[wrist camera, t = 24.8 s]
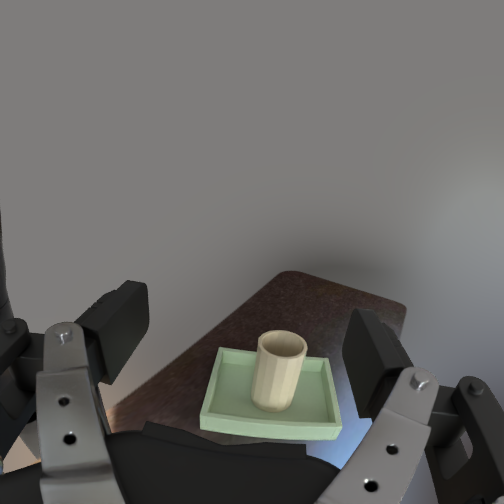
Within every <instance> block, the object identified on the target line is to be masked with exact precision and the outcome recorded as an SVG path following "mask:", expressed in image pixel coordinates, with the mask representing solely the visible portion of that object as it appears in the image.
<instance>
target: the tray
mask: <svg viewBox="0 0 504 504" xmlns="http://www.w3.org/2000/svg"><path fill="white" fill-rule="evenodd" d="M256 353H257V352H252V351H244V350H236V349H229V348H222V347H219V349H218V353H217V356H216V360H215V363H214V367H213V370H212V374H211V377H210V381H209V384H208V388H207V391H206V395H205V399H204V402H203V406H202V409H201V413H200V429H203V430H209V431H215V432H221V433H228V434H235V435H243V436H252V437H262V438H274V439H291V440H336V438H337V436H338V434H339V432H340V431H341V429H342V422H341V417H340V412H339V407H338V402H337V397H336V392H335V388H334V383H333V378H332V374H331V369H330V365H329V360H328V358H317V357H305V360H304V364H303V368H302V371H301V375H300V379H299V382H298V386H297V389H296V393H295V396H294V399H293V402H292V404H291V406H290V407H289V408H288V409H286V410H284V411H281V412H276V413H271V412H266V411H263V410H261V409H259V408H257V407H256V406H255V405H254V404H253V403H252V401H251V397H250V395H251V387H252V381H253V374H254V367H255V360H256Z"/></svg>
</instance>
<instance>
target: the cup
mask: <svg viewBox="0 0 504 504" xmlns="http://www.w3.org/2000/svg"><path fill="white" fill-rule="evenodd" d="M306 353H307V343H306V342H305V341H304V339H303V338H302V337H300V336H298V335H297V334H295V333H292V332H289V331H283V330H274V331H268V332H266V333H264V334H262V335H261V336H260V338H259V339H258V346H257V353H256V360H255V367H254V374H253V381H252V387H251V395H250V397H251V401H252V403H253V404H254V405H255V406H256V407H257V408H259V409H261V410H263V411H266V412H271V413H276V412H281V411H284V410H286V409H288V408H289V407H290V406H291V404H292V402H293V399H294V396H295V393H296V389H297V386H298V382H299V379H300V375H301V371H302V368H303V364H304V360H305V356H306Z"/></svg>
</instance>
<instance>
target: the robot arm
mask: <svg viewBox="0 0 504 504" xmlns="http://www.w3.org/2000/svg"><path fill="white" fill-rule="evenodd" d="M148 327H149V305H148V290H147V285H146V284H145V283H141V282H136V281H130V280H127V281H126V282H124V283H123V284H122V285H121V286H120V287H119V288H118V289H117V290H113V291H111V292H108V293H106V294H104V295H103V296H102V297H101V298H99V299H98V300H97V302H95V303H94V304H93V305H92V306H91V308H88V310H86V311H85V312H84V313H83V314H82V315H81V316H80V317H79V318H78V319H77V320H76V321H75V322H74V323H72V322H62V323H57V324H55V325H53V326H51V327H50V328H49V329H47V331H46V332H45V334H38V333H29V329H28V326H27V323H26V322H25V321H24V320H23V319H20V318H14V316H13V313H12V309H11V305H10V301H9V298H8V294H7V290H6V270H5V260H4V252H3V243H2V229H1V213H0V504H400V502H401V500H402V498H403V496H404V494H405V492H406V490H407V488H408V486H409V484H410V481H411V479H412V477H413V475H414V473H415V470H416V468H417V466H418V463H419V461H420V459H421V456H422V454H423V451H425V454H426V458H427V461H428V464H429V468H430V472H431V475H432V479H433V483H434V487H435V491H436V495H437V499H438V503H439V504H504V412H503V410H502V408H501V406H500V405H499V403H498V401H497V400H496V398H495V396H494V395H493V393H492V392H491V390H490V388H489V387H488V386H487V384H486V383H485V382H483V381H482V380H481V379H479V378H476V377H473V376H466V377H463V378H462V379H461V380H460V381H459V383H458V385H457V386H456V388H452V387H446V386H440V385H439V383H438V380H437V378H436V377H435V376H434V375H433V374H432V373H431V372H429V371H427V370H425V369H423V368H419V367H414V366H413V364H412V362H411V360H410V358H409V357H408V355H407V353H406V351H405V350H404V348H403V347H402V345H401V343H400V341H399V340H398V338H397V336H396V334H395V332H394V331H393V330H392V329H391V328H390V327H389V326H387V325H386V324H385V323H381V321H380V320H379V318H378V316H377V315H376V313H375V311H374V310H368V309H354V311H353V313H352V315H351V319H350V322H349V326H348V329H347V332H346V336H345V339H344V342H343V347H342V356H343V360H344V364H345V367H346V371H347V374H348V378H349V381H350V385H351V388H352V392H353V396H354V400H355V403H356V407H357V411H358V415H359V418H371V419H372V423H373V424H372V425H371V427H370V429H369V430H368V432H367V433H366V435H365V436H364V438H363V439H362V441H361V443H360V444H359V445H358V447H357V448H356V450H355V451H354V453H353V454H352V456H351V457H350V458H349V460H348V461H347V463H346V464H345V465H344V467H343V468H342V469H341V470H340V469H339V468H337V467H336V466H334V465H332V464H330V463H328V462H326V461H324V460H322V459H319V458H316V457H313V456H309V455H306V444H287V443H271V442H263V443H253V444H241V445H220V444H217V443H214V442H212V441H209V440H207V439H204V438H202V437H199V436H197V435H194V434H192V433H190V432H187V431H185V430H182V429H177V428H173V427H169V426H165V425H161V424H157V423H153V422H149V421H146V423H145V425H144V427H143V430H142V431H140V430H131V431H121V432H116V433H112V432H111V429H110V426H109V423H108V420H107V416H106V413H105V409H104V406H103V402H102V398H101V394H100V391H99V387H98V383H99V382H103V383H105V384H109V385H112V384H113V382H114V381H115V379H116V377H117V376H118V374H119V373H120V371H121V370H122V368H123V367H124V365H125V364H126V362H127V361H128V359H129V358H130V356H131V355H132V353H133V351H134V350H135V349H136V347H137V345H138V344H139V343H140V341H141V340H142V338H143V337H144V335H145V334H146V332H147V330H148ZM35 412H37V428H38V439H39V448H40V456H41V462H39V463H36V464H33V465H30V466H27V467H24V468H21V469H18V470H15V471H12V472H9V473H5V474H4V472H3V460H4V458H5V457H6V455H7V453H8V452H9V450H10V448H11V447H12V445H13V443H14V442H15V440H16V439H17V437H18V436H19V434H20V433H21V431H22V429H23V428H24V426H25V425H26V423H27V422H28V420H29V419H30V417H31V416H32V414H34V413H35ZM465 431H467V433H468V436H469V438H470V440H471V442H472V445H473V453H472V456H471V458H470V459H468V456H467V454H466V451H465V449H464V446H463V444H462V441H461V439H460V437H461V436H462V435H463V433H464V432H465Z"/></svg>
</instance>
